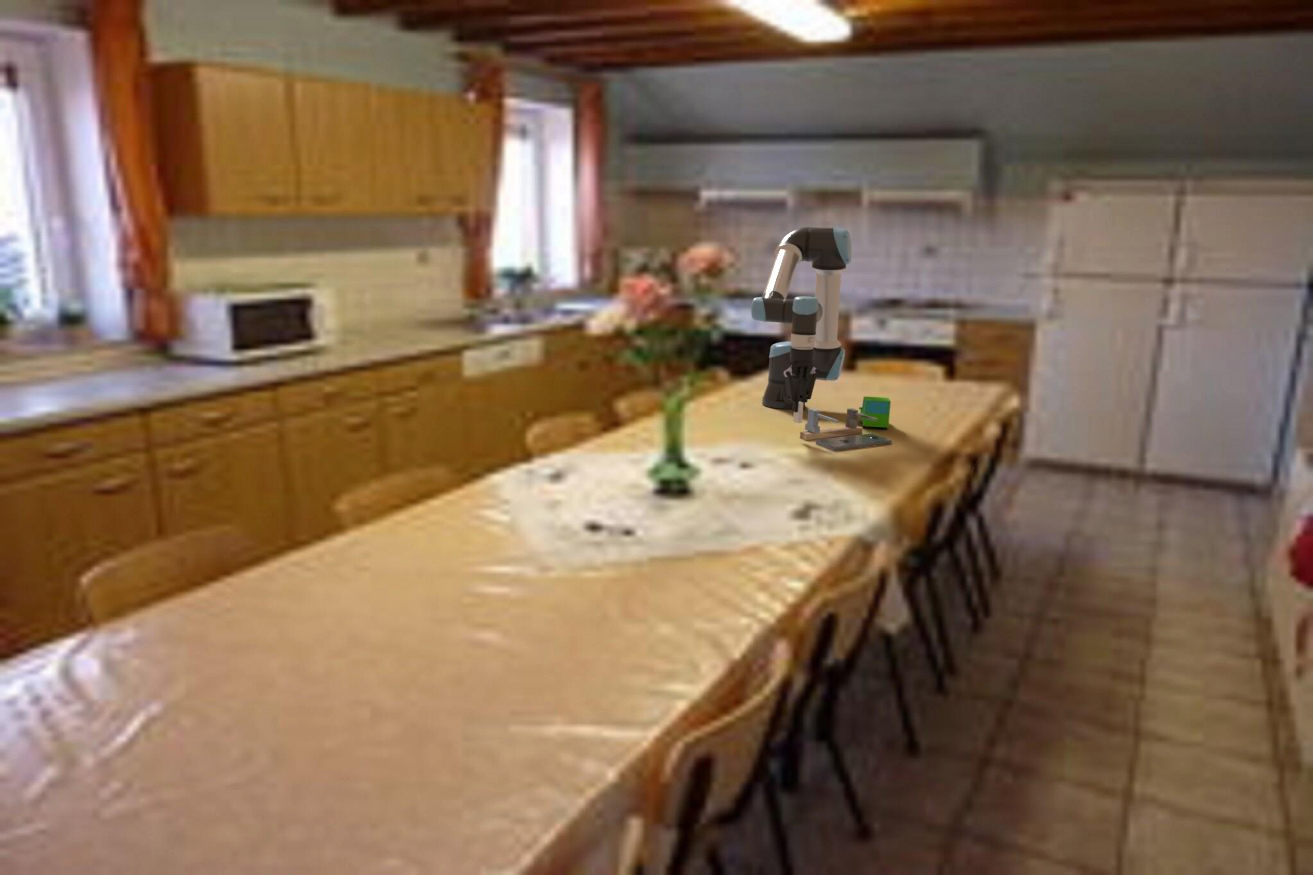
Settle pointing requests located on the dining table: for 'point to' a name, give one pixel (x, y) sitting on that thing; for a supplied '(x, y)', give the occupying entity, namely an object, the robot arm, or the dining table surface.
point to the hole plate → (853, 442)
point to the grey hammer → (815, 420)
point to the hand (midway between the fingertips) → (797, 421)
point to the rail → (841, 431)
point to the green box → (875, 411)
